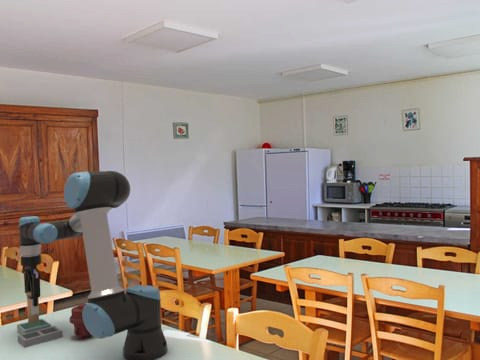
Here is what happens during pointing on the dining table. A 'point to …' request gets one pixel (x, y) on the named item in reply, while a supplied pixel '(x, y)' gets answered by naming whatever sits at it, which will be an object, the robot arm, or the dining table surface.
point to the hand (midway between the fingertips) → (33, 312)
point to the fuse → (34, 317)
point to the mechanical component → (79, 322)
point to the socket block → (40, 336)
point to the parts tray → (32, 326)
